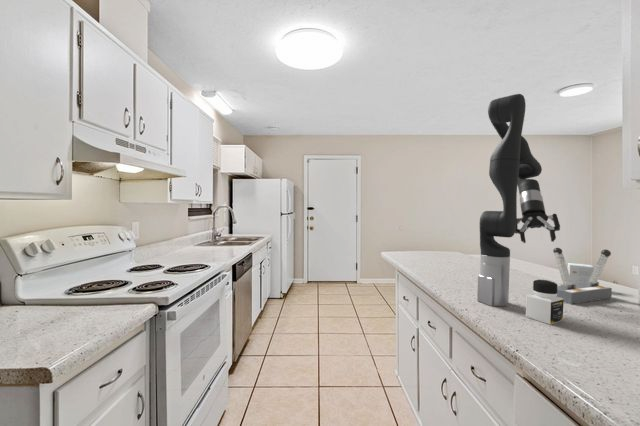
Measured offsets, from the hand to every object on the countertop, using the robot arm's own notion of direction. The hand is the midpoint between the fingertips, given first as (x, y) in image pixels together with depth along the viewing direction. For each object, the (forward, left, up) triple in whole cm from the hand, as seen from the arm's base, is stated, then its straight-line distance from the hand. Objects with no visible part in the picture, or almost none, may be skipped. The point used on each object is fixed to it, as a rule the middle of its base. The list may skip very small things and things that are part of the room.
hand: (538, 241), depth 112 cm
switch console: (+21, -3, -22) cm, 30 cm away
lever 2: (+28, -3, -17) cm, 33 cm away
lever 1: (+14, -3, -17) cm, 22 cm away
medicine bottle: (-16, -14, -22) cm, 31 cm away
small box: (+37, +6, -22) cm, 43 cm away
